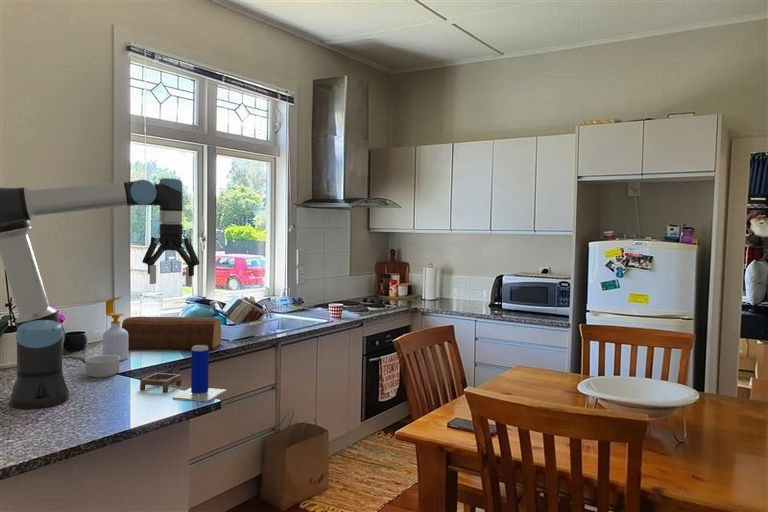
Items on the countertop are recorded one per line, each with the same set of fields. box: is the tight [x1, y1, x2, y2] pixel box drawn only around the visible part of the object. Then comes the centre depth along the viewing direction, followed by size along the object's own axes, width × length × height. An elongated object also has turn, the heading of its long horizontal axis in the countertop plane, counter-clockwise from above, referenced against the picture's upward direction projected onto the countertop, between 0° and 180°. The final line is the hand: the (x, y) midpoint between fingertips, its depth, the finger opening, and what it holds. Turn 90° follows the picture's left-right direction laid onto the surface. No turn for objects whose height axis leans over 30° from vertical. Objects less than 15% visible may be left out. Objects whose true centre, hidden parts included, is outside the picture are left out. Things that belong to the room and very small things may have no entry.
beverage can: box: [190, 345, 210, 395], centre depth 180 cm, size 5×5×15 cm
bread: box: [121, 316, 222, 351], centre depth 249 cm, size 16×39×13 cm, turn 93°
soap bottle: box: [102, 296, 129, 362], centre depth 224 cm, size 9×9×25 cm
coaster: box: [171, 387, 227, 403], centre depth 180 cm, size 12×12×1 cm
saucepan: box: [66, 355, 121, 378], centre depth 203 cm, size 12×20×6 cm, turn 78°
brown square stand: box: [139, 372, 182, 393], centre depth 187 cm, size 9×9×4 cm
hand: (170, 284), depth 198 cm, fingers open, 13 cm apart
